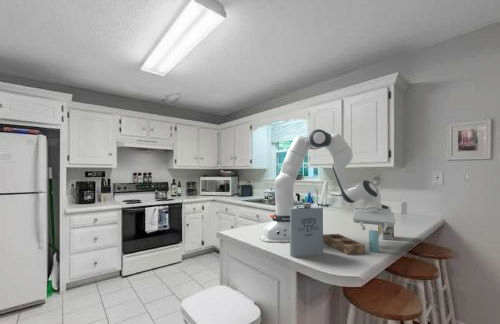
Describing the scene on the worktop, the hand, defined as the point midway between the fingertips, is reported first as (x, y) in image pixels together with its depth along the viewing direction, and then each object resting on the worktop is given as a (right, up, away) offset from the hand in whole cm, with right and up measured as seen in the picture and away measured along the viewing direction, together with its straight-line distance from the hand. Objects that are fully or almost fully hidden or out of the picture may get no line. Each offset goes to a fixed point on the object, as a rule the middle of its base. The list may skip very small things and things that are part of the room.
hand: (373, 230), depth 123 cm
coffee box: (+19, -11, +21) cm, 30 cm away
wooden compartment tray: (-16, -9, +1) cm, 19 cm away
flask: (-38, -9, -11) cm, 40 cm away
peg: (-2, -9, -5) cm, 11 cm away
